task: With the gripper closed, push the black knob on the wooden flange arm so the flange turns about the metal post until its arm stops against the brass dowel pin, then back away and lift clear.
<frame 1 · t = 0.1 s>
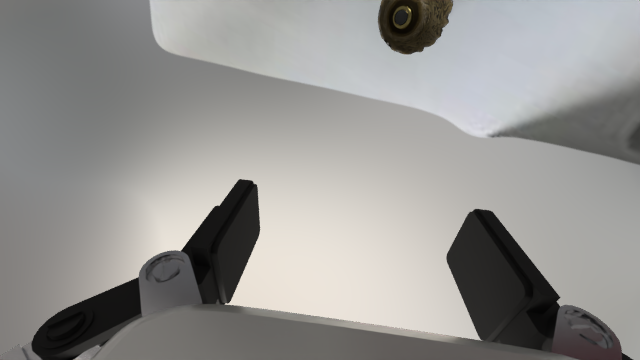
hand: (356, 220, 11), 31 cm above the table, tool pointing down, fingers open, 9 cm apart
cup: (400, 17, 33), on the table
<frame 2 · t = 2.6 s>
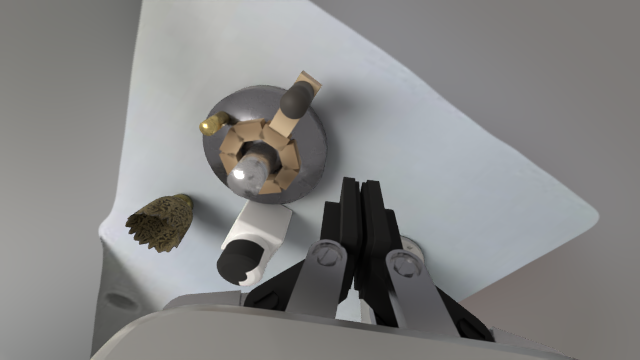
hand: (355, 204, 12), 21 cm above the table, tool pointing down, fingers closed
post base: (270, 145, 34), on the table
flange: (268, 146, 27), point 7 cm above the table, hinge at 0.0°
cup: (185, 200, 41), on the table
medicine bottle: (265, 213, 41), on the table
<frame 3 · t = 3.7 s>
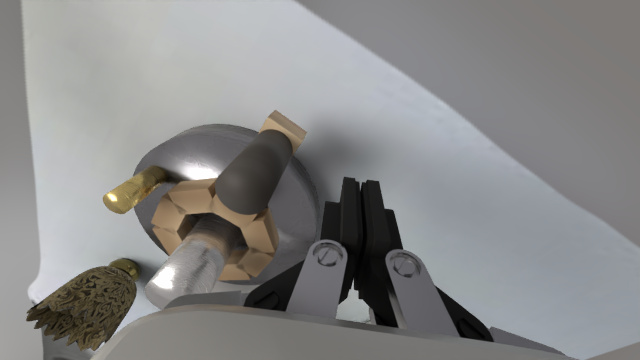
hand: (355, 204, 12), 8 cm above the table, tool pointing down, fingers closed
post base: (237, 204, 24), on the table
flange: (219, 230, 16), point 7 cm above the table, hinge at 0.0°
cup: (130, 265, 31), on the table
medicine bottle: (237, 284, 30), on the table
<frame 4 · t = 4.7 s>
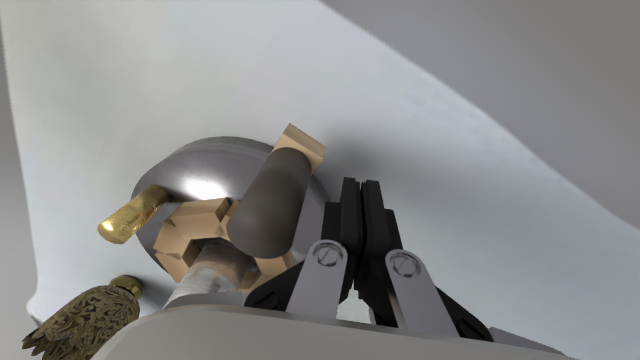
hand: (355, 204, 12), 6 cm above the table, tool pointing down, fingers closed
post base: (246, 221, 22), on the table
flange: (229, 259, 15), point 7 cm above the table, hinge at 0.9°, touching gripper
cup: (132, 281, 29), on the table
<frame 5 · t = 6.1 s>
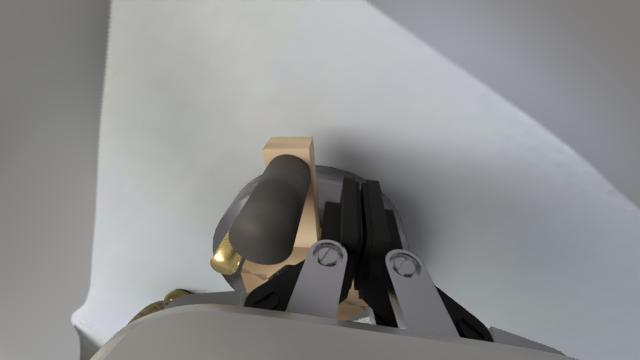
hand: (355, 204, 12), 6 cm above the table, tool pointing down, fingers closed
post base: (313, 241, 22), on the table
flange: (296, 280, 15), point 7 cm above the table, hinge at 38.1°, touching gripper
cup: (185, 295, 30), on the table
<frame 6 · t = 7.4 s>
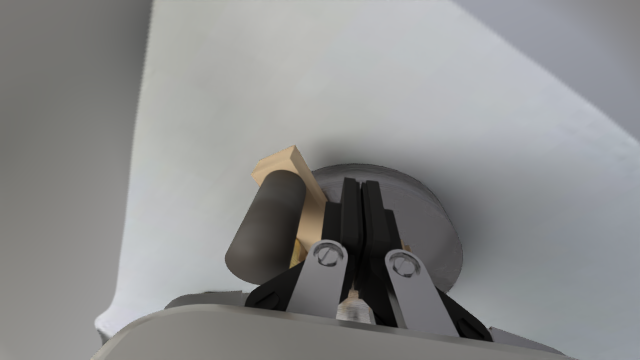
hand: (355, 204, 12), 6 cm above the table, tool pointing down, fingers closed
post base: (352, 241, 22), on the table
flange: (334, 287, 15), point 7 cm above the table, hinge at 60.1°, touching gripper, post base
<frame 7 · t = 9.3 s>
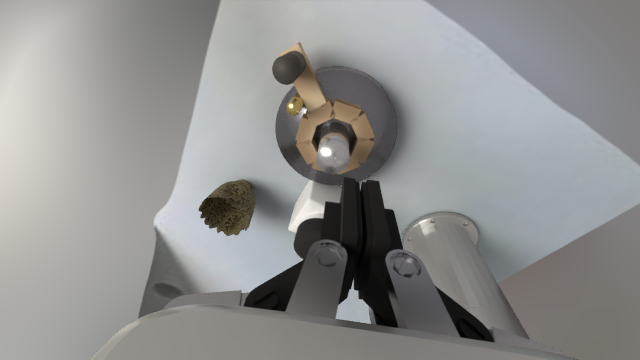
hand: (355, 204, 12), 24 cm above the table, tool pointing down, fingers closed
post base: (335, 127, 35), on the table
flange: (321, 122, 28), point 7 cm above the table, hinge at 60.1°, touching post base
cup: (243, 186, 42), on the table
medicine bottle: (322, 196, 42), on the table
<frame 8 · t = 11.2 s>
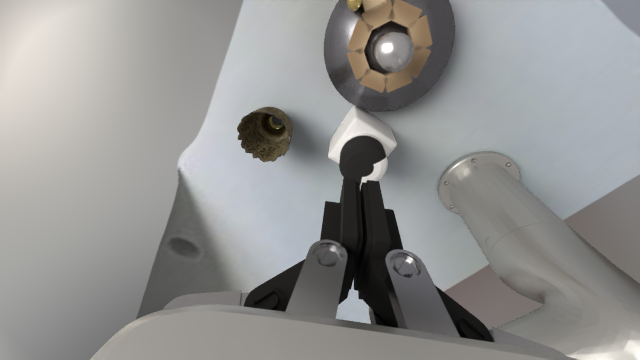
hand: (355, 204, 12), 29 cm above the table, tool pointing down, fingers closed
post base: (383, 47, 34), on the table
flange: (381, 18, 27), point 7 cm above the table, hinge at 60.1°, touching post base
cup: (277, 120, 41), on the table
medicine bottle: (359, 132, 41), on the table
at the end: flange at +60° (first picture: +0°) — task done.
